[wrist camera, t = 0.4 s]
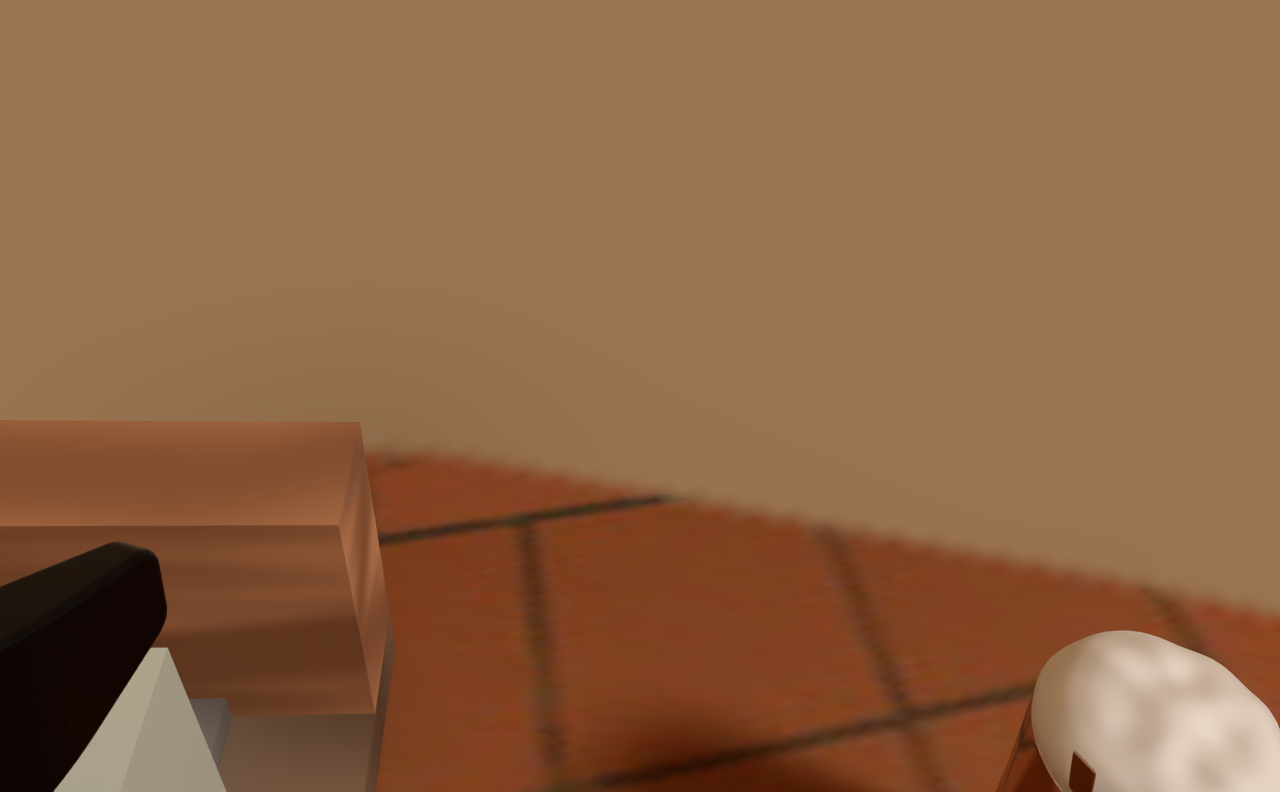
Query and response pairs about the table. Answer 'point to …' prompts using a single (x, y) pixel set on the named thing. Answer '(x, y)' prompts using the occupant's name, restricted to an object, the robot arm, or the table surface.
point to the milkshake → (1141, 723)
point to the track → (231, 575)
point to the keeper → (147, 739)
